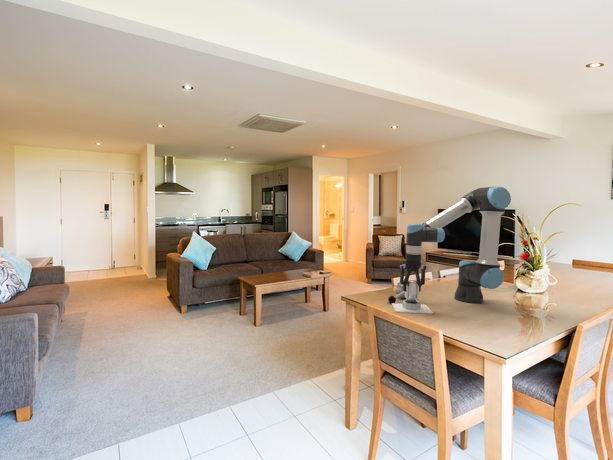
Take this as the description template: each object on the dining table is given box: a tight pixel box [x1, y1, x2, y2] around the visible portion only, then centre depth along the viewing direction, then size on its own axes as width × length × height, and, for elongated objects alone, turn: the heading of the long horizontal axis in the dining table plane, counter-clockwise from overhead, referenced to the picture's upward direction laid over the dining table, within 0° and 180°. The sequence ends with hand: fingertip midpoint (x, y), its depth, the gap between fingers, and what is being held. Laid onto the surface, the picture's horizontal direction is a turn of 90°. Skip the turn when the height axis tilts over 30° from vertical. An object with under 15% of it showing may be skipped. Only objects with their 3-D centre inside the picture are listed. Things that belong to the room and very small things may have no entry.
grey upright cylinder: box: [405, 279, 418, 304], centre depth 171 cm, size 6×5×12 cm
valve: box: [387, 281, 405, 304], centre depth 187 cm, size 10×18×15 cm
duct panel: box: [391, 299, 434, 315], centre depth 170 cm, size 18×14×4 cm
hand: (411, 297), depth 170 cm, fingers closed on grey upright cylinder, 5 cm apart
